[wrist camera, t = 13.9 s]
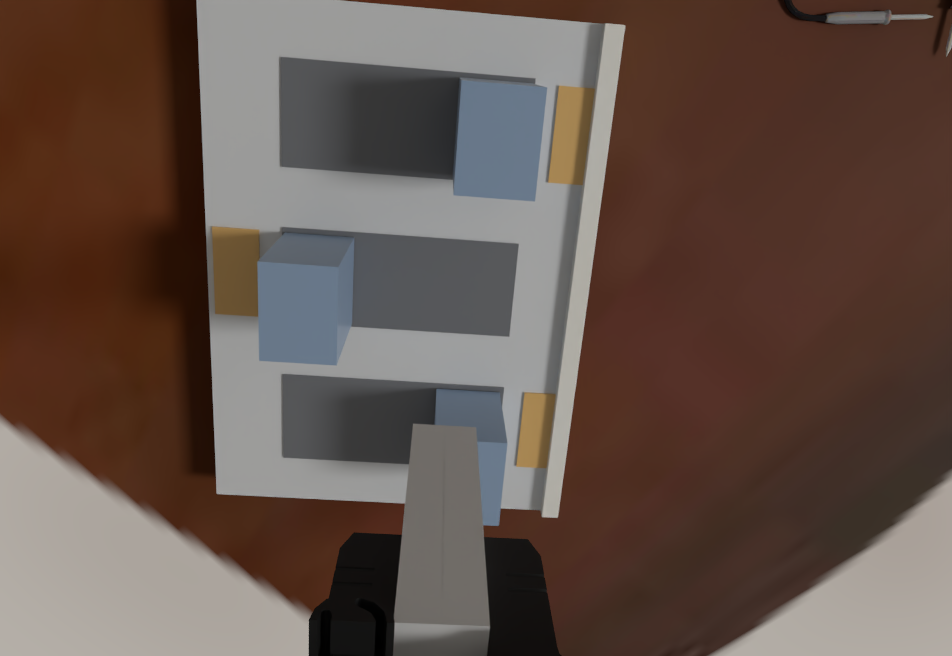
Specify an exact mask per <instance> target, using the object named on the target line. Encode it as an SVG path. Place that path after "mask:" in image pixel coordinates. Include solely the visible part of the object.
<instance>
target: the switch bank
mask: <svg viewBox="0 0 952 656" xmlns="http://www.w3.org/2000/svg"><path fill="white" fill-rule="evenodd" d="M196 2H197V26H198V51H199V75H200V99H201V123H202V148H203V172H204V196H205V221H206V245H207V269H208V294H209V318H210V342H211V367H212V391H213V415H214V440H215V464H216V488H217V494H227V495H247V496H267V497H287V498H307V499H327V500H347V501H367V502H387V503H405V500H406V490H407V480H408V470H409V460H410V450H411V440H412V430H413V424H428V425H434V419H435V404H436V390H437V389H451V390H468V391H485V392H500V398H501V404H502V411H503V417H504V424H505V430H506V437H507V443H508V444H507V453H506V462H505V472H504V481H503V490H502V500H501V508H507V509H527V510H541V515H542V517H553V518H558V512H559V505H560V497H561V490H562V483H563V476H564V468H565V461H566V454H567V446H568V439H569V432H570V425H571V417H572V410H573V403H574V395H575V388H576V381H577V374H578V366H579V359H580V352H581V344H582V337H583V330H584V323H585V315H586V308H587V301H588V293H589V286H590V279H591V272H592V264H593V257H594V250H595V242H596V235H597V228H598V221H599V213H600V206H601V199H602V191H603V184H604V177H605V170H606V162H607V155H608V148H609V140H610V133H611V126H612V119H613V111H614V104H615V97H616V89H617V82H618V75H619V68H620V60H621V53H622V46H623V38H624V31H625V25H618V24H607V23H605V24H597V23H585V22H574V21H563V20H552V19H541V18H530V17H519V16H508V15H497V14H485V13H474V12H463V11H452V10H441V9H430V8H419V7H408V6H396V5H385V4H374V3H363V2H352V1H341V0H196ZM460 77H463V78H475V79H487V80H498V81H510V82H522V83H533V84H536V85H540V86H544V87H547V95H546V104H545V113H544V123H543V132H542V141H541V151H540V160H539V169H538V178H537V188H536V197H535V201H522V200H508V199H495V198H482V197H469V196H455V195H453V164H454V150H455V136H456V121H457V107H458V93H459V78H460ZM285 232H286V233H300V234H314V235H328V236H342V237H354V271H353V308H352V325H351V328H350V330H349V333H348V336H347V339H346V341H345V344H344V347H343V349H342V352H341V355H340V358H339V360H338V363H337V366H336V365H319V364H303V363H286V362H270V361H259V323H258V268H257V261H258V260H259V259H260V258H261V257H262V256H263V255H264V254H265V253H266V252H267V251H268V250H269V249H270V248H271V247H272V246H273V245H274V244H275V243H276V241H277V240H278V239H279V238H280V237H281V236H282V235H283V234H284V233H285Z"/></svg>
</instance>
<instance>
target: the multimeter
mask: <svg viewBox="0 0 952 656" xmlns="http://www.w3.org/2000/svg"><path fill="white" fill-rule="evenodd" d="M784 1H785V4H786V7H787V8H788V10H789V11H790V12H791V13H792V14H793V15H794V16H795V17H797V18H799V19H803V20H808V21H825V22H826V23H833V24H874V23H882V24H884V25H887V24H888V23H889V22H890V20H901V19H927V18H930V17H934V16H930V15H926V14H912V15H891V11H890V10H885V11H874V12H836V13H829V14H826V15H809V14H804V13H802V12H800V11H798V10H797V9H796V8H795V7H794V5H793V3H792V1H791V0H784ZM950 8H952V5H951V7H950ZM951 46H952V25H951V29H950V34H949V38H948V42H947V46H946V57H947V55H948V53H949V51H950V49H951Z"/></svg>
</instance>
